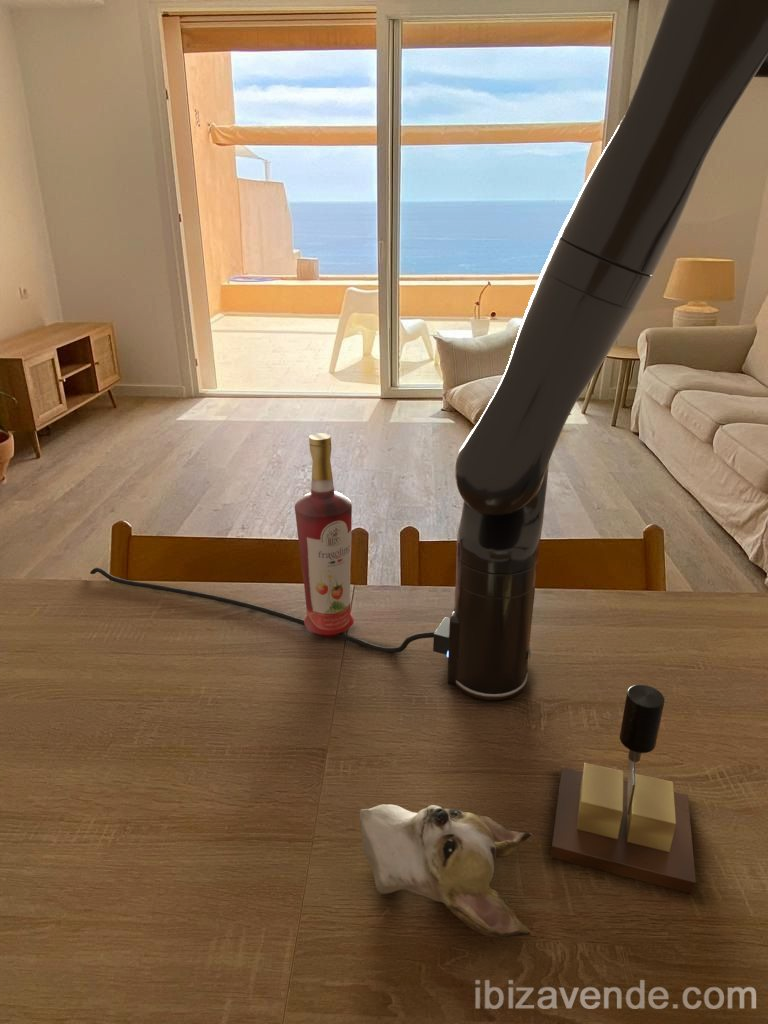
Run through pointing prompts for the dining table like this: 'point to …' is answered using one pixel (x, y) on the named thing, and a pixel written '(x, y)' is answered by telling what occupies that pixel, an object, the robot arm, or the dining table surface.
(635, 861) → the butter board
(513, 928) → the ceramic sculpture
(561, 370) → the robot arm
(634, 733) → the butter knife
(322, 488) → the liquor
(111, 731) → the dining table surface
